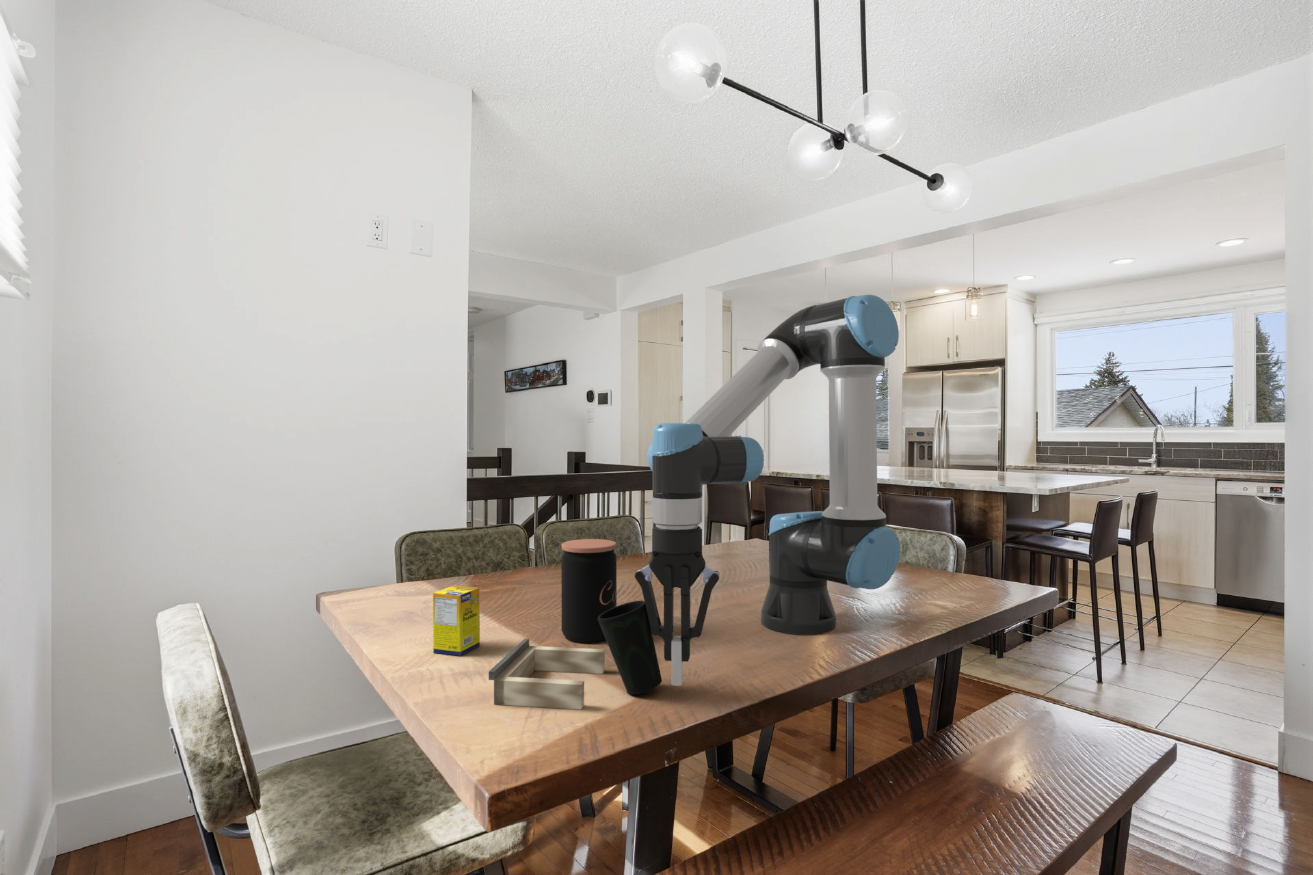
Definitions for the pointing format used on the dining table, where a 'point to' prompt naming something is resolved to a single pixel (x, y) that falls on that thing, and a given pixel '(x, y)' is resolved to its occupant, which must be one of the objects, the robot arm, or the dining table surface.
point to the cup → (632, 646)
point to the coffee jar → (587, 587)
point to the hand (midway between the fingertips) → (677, 681)
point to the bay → (544, 692)
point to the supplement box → (456, 620)
